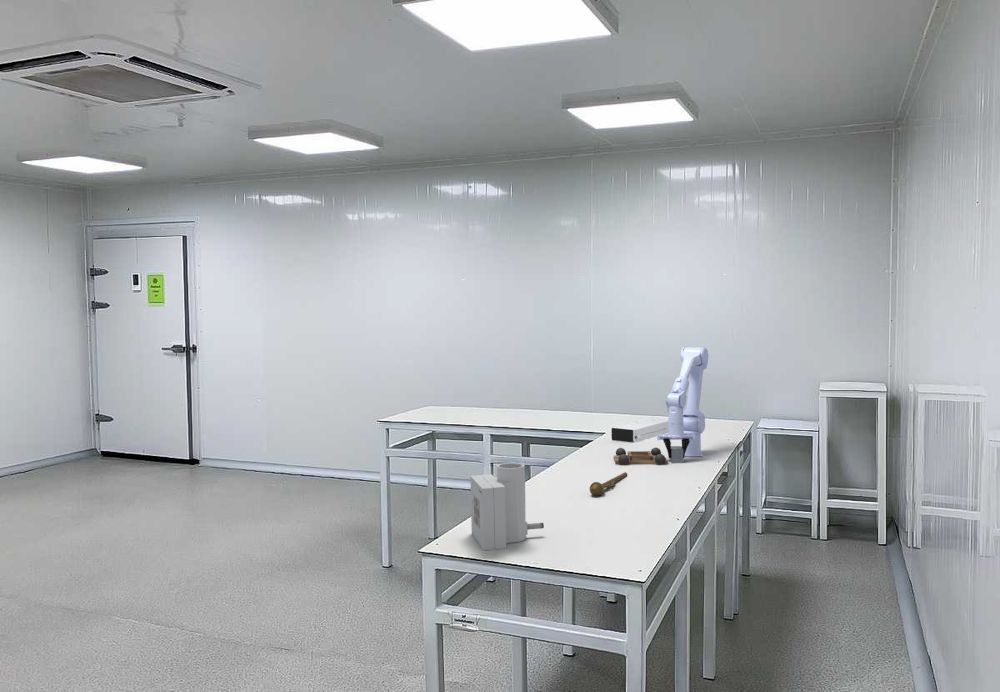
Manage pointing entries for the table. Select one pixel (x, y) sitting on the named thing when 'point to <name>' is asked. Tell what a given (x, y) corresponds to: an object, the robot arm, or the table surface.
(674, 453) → the block
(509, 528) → the box with tube attached
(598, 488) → the ball-headed bronze rod
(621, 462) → the chassis
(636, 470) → the table surface
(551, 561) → the table surface
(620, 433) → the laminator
